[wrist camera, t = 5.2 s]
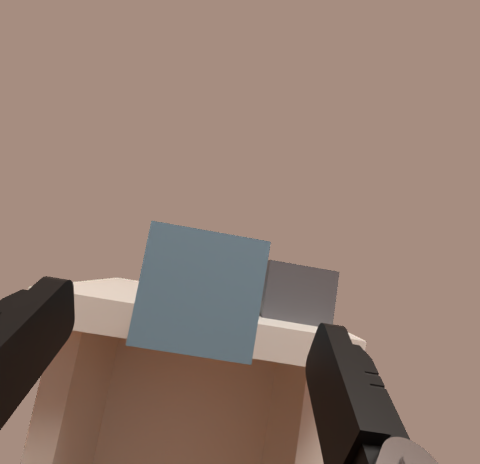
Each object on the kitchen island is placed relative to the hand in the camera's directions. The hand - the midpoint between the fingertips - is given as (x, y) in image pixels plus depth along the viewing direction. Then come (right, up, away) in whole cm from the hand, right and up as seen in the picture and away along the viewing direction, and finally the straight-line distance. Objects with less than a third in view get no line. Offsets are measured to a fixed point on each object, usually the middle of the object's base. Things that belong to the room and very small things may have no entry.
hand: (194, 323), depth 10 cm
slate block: (-1, -2, +11) cm, 11 cm away
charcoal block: (+5, -4, +14) cm, 15 cm away
